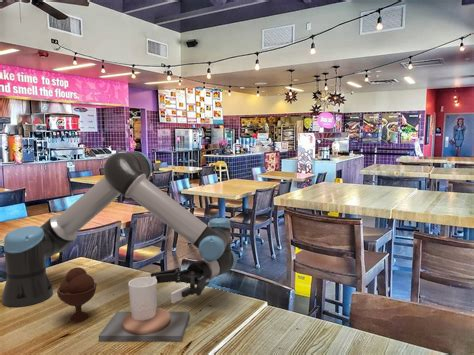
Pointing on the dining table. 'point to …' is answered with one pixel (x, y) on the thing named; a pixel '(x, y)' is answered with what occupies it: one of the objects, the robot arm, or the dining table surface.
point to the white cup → (143, 297)
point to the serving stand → (146, 327)
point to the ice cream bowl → (77, 291)
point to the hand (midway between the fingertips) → (154, 292)
